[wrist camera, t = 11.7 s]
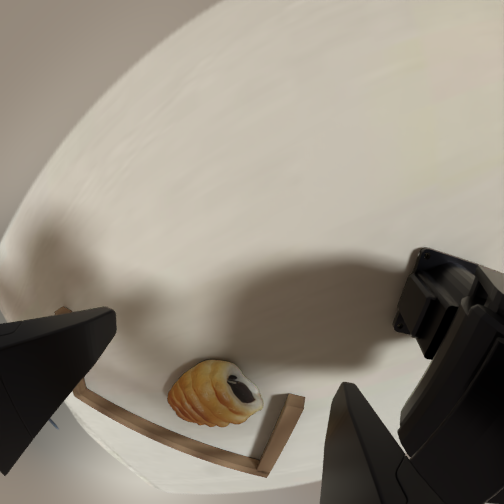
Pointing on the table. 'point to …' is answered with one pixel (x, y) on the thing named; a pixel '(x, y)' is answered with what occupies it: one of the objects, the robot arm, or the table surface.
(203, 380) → the pastry
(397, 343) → the table surface
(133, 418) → the walnut frame
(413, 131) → the table surface
